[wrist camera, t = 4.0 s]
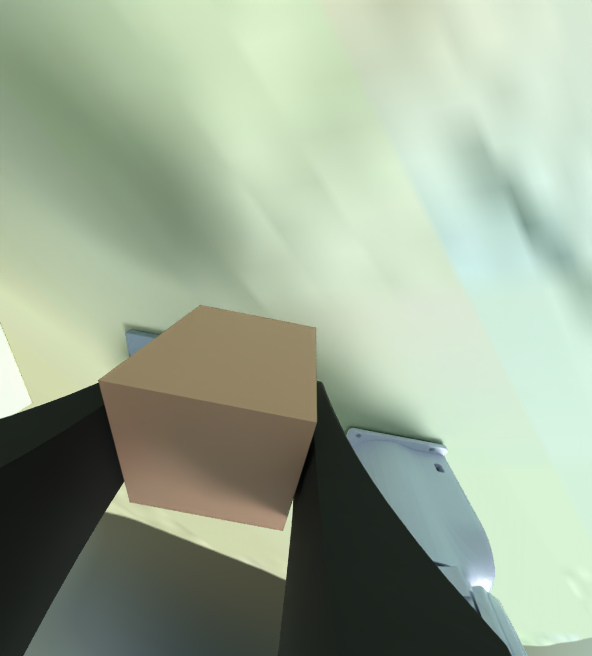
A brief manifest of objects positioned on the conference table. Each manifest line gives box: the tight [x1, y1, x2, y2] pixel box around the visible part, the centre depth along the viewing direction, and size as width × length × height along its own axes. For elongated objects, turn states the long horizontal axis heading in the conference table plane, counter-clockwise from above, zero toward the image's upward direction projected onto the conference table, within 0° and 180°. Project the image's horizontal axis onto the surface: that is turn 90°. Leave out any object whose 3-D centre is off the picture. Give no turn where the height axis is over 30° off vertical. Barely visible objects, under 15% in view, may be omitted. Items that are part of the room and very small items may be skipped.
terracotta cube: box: [98, 305, 317, 531], centre depth 8 cm, size 5×5×5 cm
